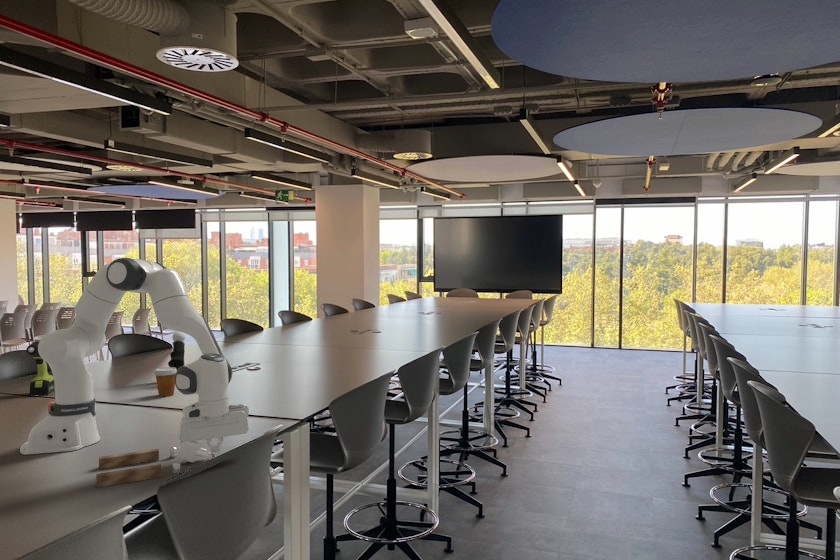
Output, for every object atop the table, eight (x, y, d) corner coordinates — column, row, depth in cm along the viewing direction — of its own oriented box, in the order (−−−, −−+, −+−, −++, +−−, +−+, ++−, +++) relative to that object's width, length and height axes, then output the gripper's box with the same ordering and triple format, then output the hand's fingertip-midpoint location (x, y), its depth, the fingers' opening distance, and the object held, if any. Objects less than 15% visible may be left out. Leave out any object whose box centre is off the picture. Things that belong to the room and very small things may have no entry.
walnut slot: (96, 487, 153) (96, 476, 153) (99, 467, 168) (99, 457, 168) (161, 476, 160) (161, 466, 160) (158, 458, 175) (158, 448, 175)
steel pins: (173, 475, 161) (172, 464, 161) (169, 456, 176) (169, 447, 176) (180, 473, 162) (180, 463, 162) (176, 455, 177) (176, 446, 177)
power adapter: (209, 464, 176) (217, 446, 177) (211, 469, 172) (220, 450, 173) (174, 454, 171) (182, 435, 172) (175, 459, 167) (184, 440, 168)
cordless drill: (40, 401, 248) (38, 344, 247) (21, 402, 245) (19, 344, 245) (55, 389, 270) (54, 337, 269) (38, 390, 267) (37, 338, 267)
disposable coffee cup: (169, 398, 252) (168, 371, 252) (150, 397, 254) (149, 370, 254) (182, 393, 262) (181, 367, 261) (163, 392, 264) (163, 366, 263)
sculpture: (196, 376, 299) (196, 329, 299) (191, 386, 277) (191, 335, 276) (165, 378, 295) (164, 330, 294) (157, 388, 273) (156, 336, 272)
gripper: (246, 401, 182) (247, 443, 182) (177, 409, 172) (178, 454, 173) (250, 405, 176) (251, 449, 177) (179, 413, 167) (180, 460, 167)
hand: (214, 451), depth 175 cm, fingers closed
